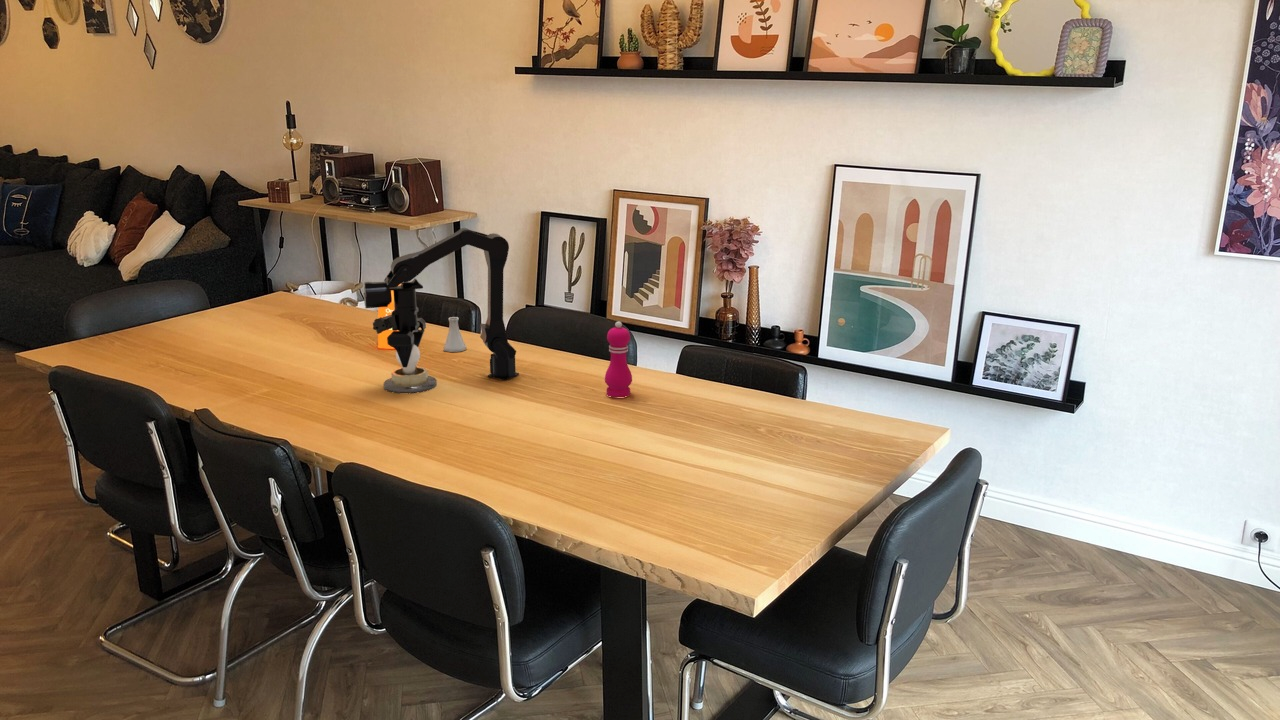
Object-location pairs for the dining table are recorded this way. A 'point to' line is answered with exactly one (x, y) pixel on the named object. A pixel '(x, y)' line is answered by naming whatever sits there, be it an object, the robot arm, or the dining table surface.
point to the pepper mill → (618, 362)
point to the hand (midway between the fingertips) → (408, 362)
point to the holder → (410, 381)
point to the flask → (454, 337)
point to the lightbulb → (411, 361)
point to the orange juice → (383, 336)
